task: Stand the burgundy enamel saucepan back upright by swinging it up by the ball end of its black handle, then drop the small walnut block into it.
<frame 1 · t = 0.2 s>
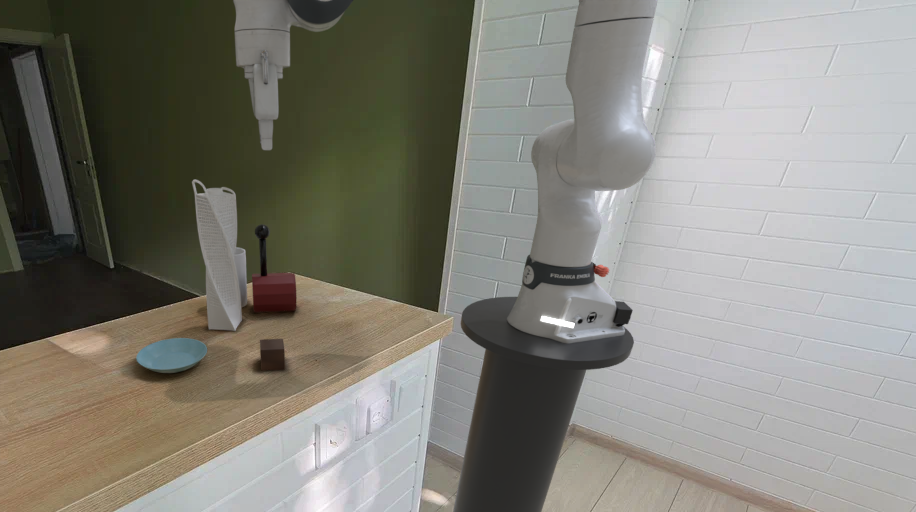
hand: (266, 147, 84), 33 cm above the counter, tool pointing down, fingers open, 8 cm apart
block: (272, 364, 83), on the counter
pot: (273, 269, 101), point 9 cm above the counter, hinge at 90.0°
mug: (231, 307, 107), on the counter
skyscraper: (224, 325, 98), on the counter
saucer: (174, 364, 83), on the counter
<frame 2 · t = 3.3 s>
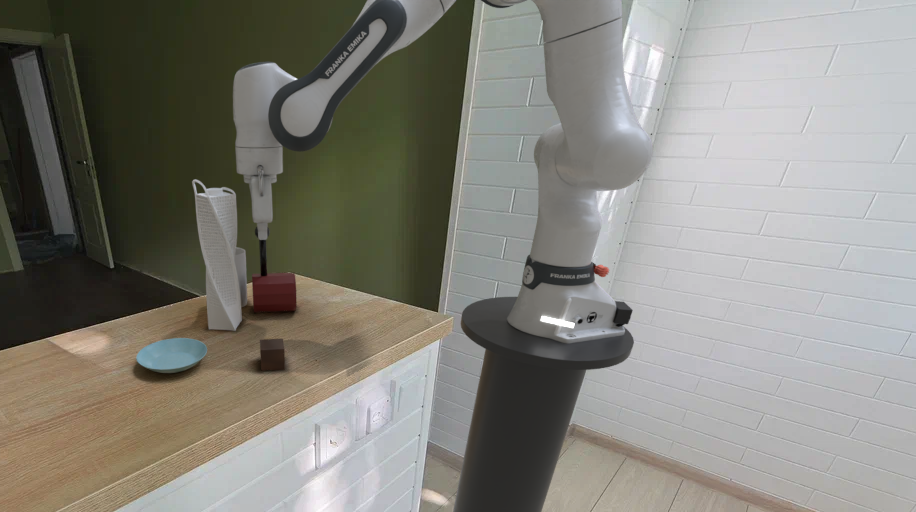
hand: (262, 236, 97), 16 cm above the counter, tool pointing down, fingers closed on pot, 3 cm apart
pot: (273, 269, 101), point 9 cm above the counter, hinge at 90.0°, touching gripper
everything else where it was.
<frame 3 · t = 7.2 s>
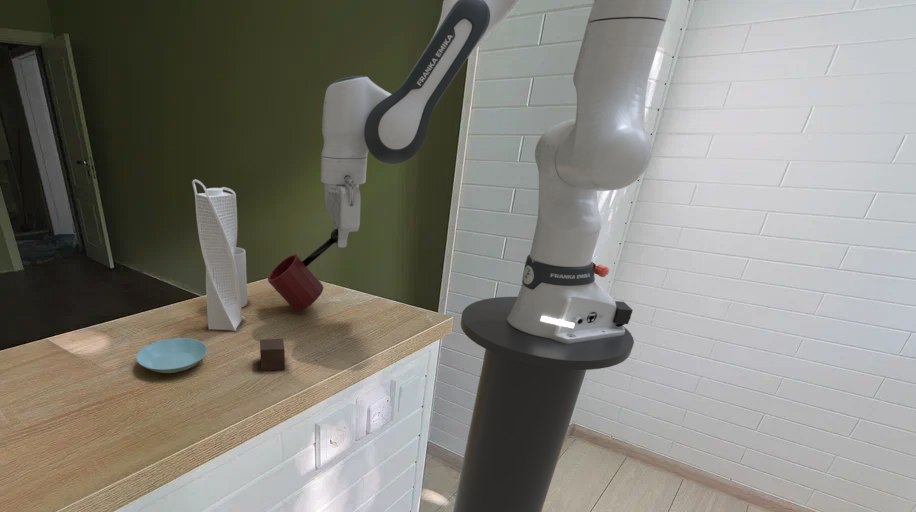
hand: (339, 243, 100), 14 cm above the counter, tool pointing down, fingers closed on pot, 3 cm apart
pot: (314, 267, 101), point 9 cm above the counter, hinge at 39.4°, touching gripper
everything else where it was.
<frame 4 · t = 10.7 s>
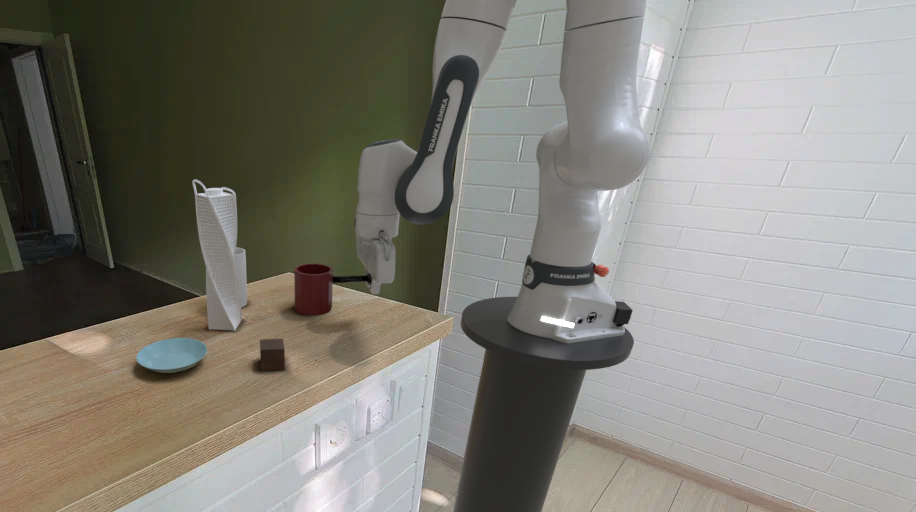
hand: (372, 289, 105), 4 cm above the counter, tool pointing down, fingers open, 3 cm apart
pot: (337, 288, 104), point 4 cm above the counter, hinge at 0.0°
everything else where it was.
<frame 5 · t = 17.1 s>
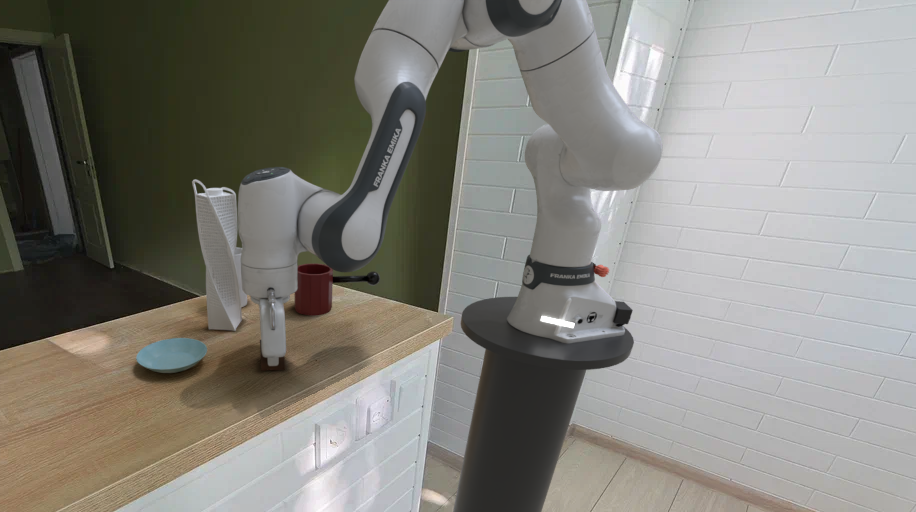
hand: (272, 356, 82), 2 cm above the counter, tool pointing down, fingers closed on block, 4 cm apart
block: (272, 364, 83), on the counter, touching gripper
everything else where it was.
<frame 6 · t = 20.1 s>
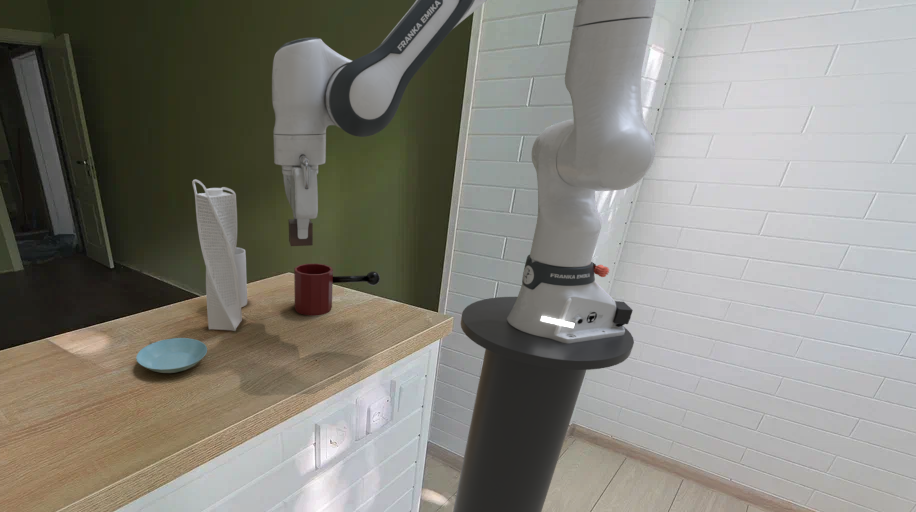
hand: (300, 234, 88), 19 cm above the counter, tool pointing down, fingers closed on block, 4 cm apart
block: (300, 243, 89), point 17 cm above the counter, touching gripper
everything else where it was.
when the fingers open (12 cm above the counter, at t = 23.2 s): block drops 10 cm, resting on pot.
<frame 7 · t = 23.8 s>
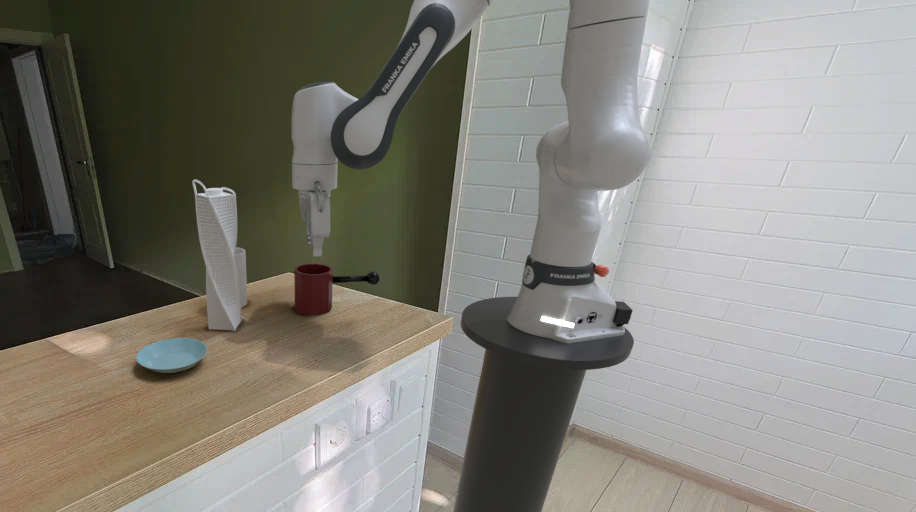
hand: (314, 249, 100), 13 cm above the counter, tool pointing down, fingers open, 8 cm apart
block: (312, 306, 106), resting on pot
pot: (337, 288, 104), point 4 cm above the counter, hinge at 0.0°, touching block
everything else where it was.
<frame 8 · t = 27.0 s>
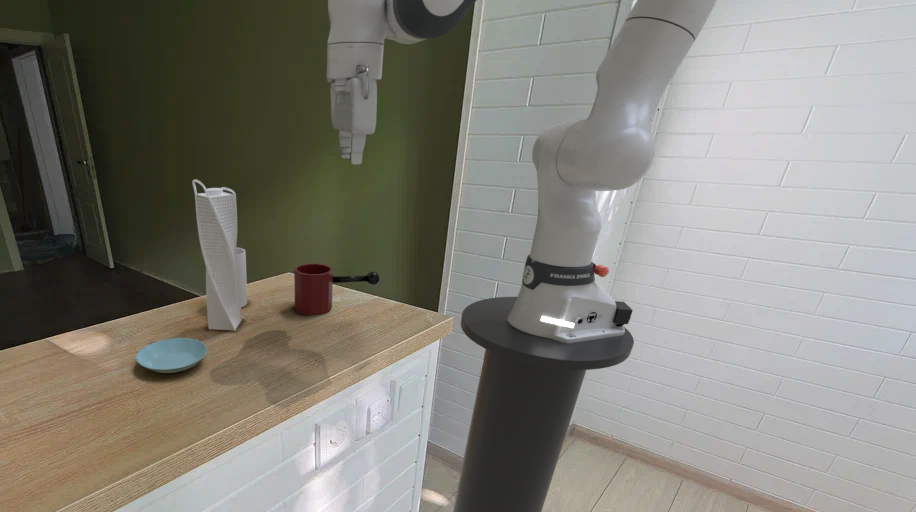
hand: (350, 161, 83), 31 cm above the counter, tool pointing down, fingers open, 8 cm apart
nothing on the counter moved.
at the end: pot at +0° (first picture: +90°); block 0.0 cm off-centre on the pot, point 0.5 cm above the pot's base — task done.
